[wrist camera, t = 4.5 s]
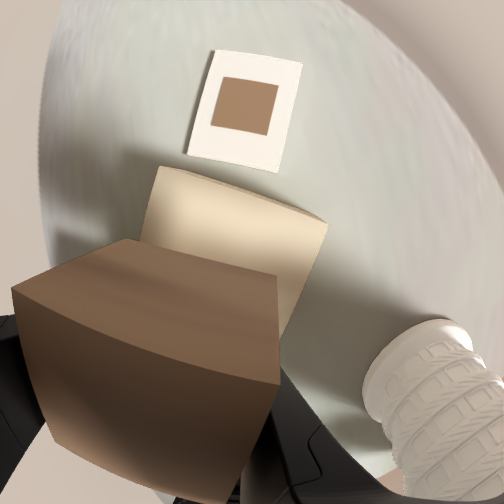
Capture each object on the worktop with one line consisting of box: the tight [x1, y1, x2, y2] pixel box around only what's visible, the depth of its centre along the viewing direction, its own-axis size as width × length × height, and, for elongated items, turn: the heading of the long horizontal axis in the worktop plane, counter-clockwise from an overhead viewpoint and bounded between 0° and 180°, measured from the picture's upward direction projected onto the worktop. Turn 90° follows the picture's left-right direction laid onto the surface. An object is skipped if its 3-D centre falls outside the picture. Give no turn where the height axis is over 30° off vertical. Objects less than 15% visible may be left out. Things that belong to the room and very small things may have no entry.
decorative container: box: [362, 319, 504, 501], centre depth 11 cm, size 12×12×18 cm
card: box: [187, 50, 303, 174], centre depth 16 cm, size 8×6×1 cm
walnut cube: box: [11, 238, 281, 504], centre depth 7 cm, size 5×5×5 cm
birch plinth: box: [139, 166, 329, 340], centre depth 17 cm, size 9×9×5 cm
